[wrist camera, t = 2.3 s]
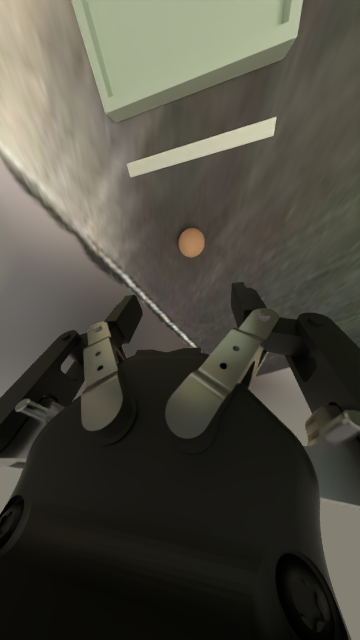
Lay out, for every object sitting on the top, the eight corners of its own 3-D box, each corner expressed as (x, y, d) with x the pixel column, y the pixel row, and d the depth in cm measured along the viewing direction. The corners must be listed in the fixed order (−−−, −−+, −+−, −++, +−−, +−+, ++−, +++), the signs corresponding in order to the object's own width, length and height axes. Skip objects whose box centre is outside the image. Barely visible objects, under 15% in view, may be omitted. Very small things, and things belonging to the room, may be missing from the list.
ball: (203, 223, 28) (203, 227, 24) (205, 251, 31) (206, 258, 27) (177, 228, 29) (174, 233, 25) (182, 255, 32) (180, 262, 28)
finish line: (275, 117, 19) (276, 116, 19) (272, 136, 20) (273, 135, 20) (127, 164, 24) (126, 163, 23) (131, 177, 25) (130, 177, 24)
